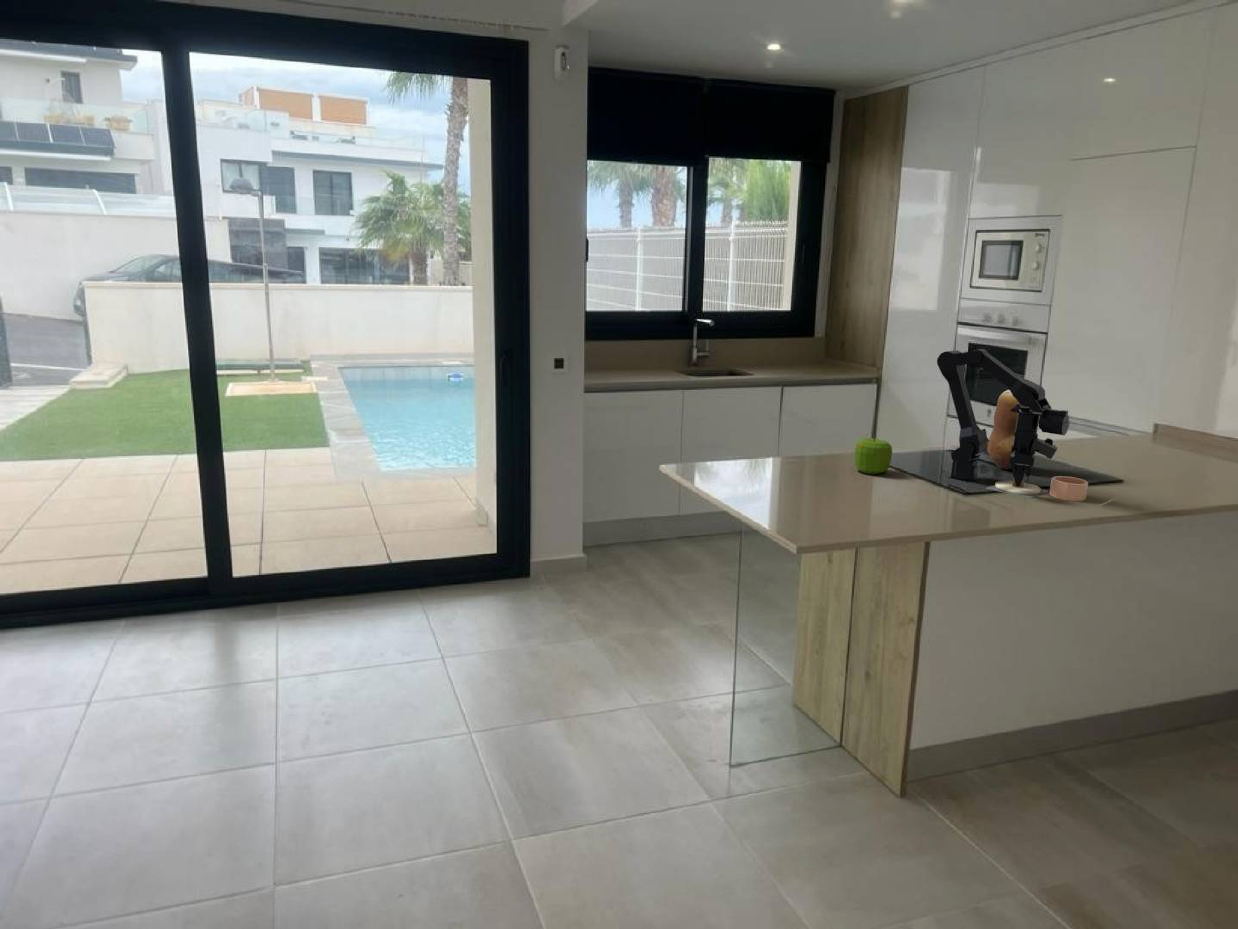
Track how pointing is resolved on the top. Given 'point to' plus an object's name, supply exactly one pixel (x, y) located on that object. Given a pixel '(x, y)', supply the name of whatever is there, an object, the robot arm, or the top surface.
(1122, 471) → the top surface
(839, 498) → the top surface
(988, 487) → the mat
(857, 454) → the apple
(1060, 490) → the bowl
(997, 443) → the butternut squash
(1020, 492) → the lid
